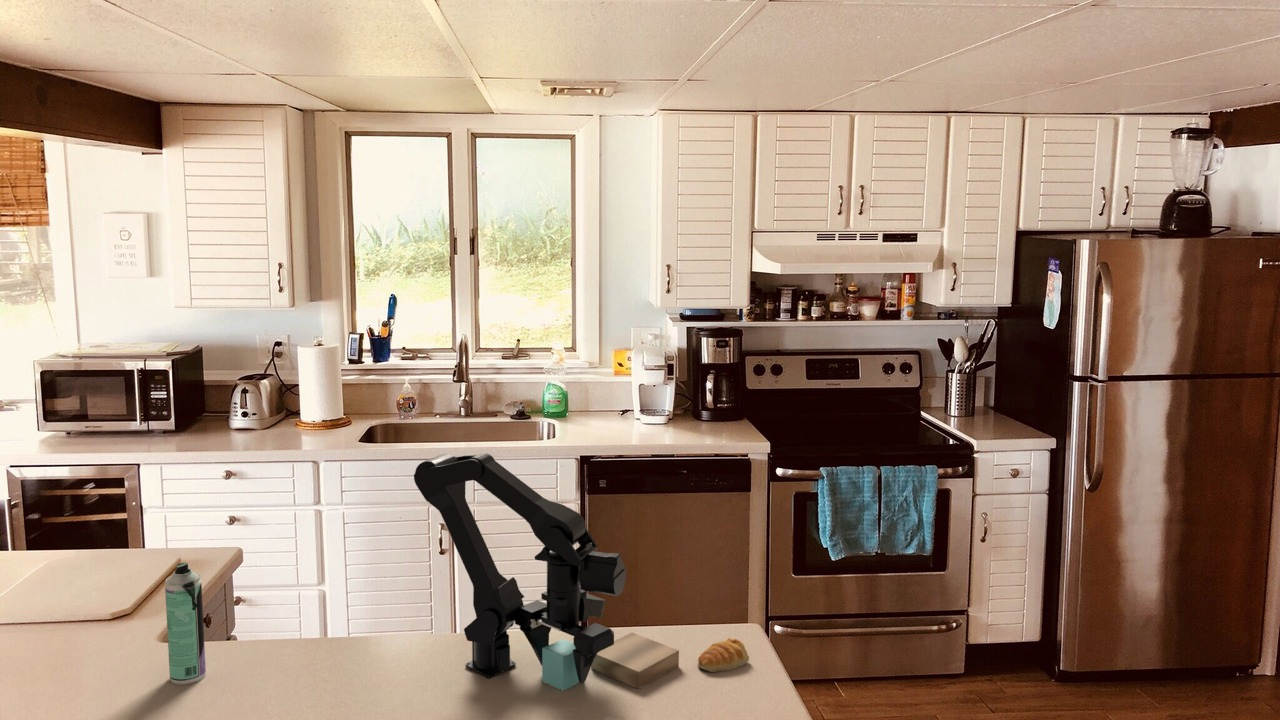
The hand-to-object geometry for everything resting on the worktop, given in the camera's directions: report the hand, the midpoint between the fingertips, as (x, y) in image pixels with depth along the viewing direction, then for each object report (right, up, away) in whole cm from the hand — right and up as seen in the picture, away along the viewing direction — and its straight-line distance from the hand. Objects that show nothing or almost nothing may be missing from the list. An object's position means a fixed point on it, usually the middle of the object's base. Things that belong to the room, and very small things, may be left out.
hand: (563, 673), depth 158 cm
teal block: (0, -1, 0) cm, 1 cm away
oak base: (+12, -1, +5) cm, 13 cm away
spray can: (-64, 0, -1) cm, 64 cm away
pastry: (+28, -1, +8) cm, 29 cm away
